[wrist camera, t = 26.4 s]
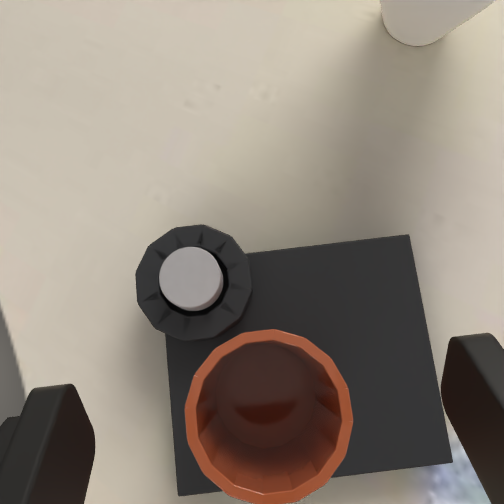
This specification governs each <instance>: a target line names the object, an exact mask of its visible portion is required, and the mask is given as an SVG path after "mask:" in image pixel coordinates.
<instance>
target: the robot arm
mask: <svg viewBox="0 0 504 504" xmlns="http://www.w3.org/2000/svg"><path fill="white" fill-rule="evenodd" d="M441 397H442V402H443V406H444V409H445V412H446V414H447V416H448V418H449V420H450V422H451V424H452V426H453V428H454V430H455V432H456V434H457V436H458V438H459V440H460V442H461V444H462V446H463V448H464V450H465V452H466V454H467V456H468V458H469V460H470V462H471V464H472V466H473V468H474V470H475V472H476V474H477V476H478V478H479V480H480V482H481V484H482V486H483V488H484V490H485V492H486V494H487V496H488V498H489V500H490V502H491V504H504V349H503V348H502V346H501V345H500V344H499V342H498V341H497V339H496V338H495V337H494V336H493V335H492V334H490V333H482V334H474V335H465V336H457V337H452V338H451V339H450V341H449V344H448V349H447V355H446V360H445V365H444V371H443V376H442V382H441ZM94 456H95V435H94V430H93V427H92V425H91V422H90V420H89V418H88V415H87V413H86V411H85V408H84V406H83V404H82V402H81V399H80V397H79V395H78V392H77V390H76V388H75V386H74V385H73V384H64V385H56V386H47V387H39V388H34V389H33V390H32V391H31V392H30V393H29V395H28V398H27V400H26V403H25V405H24V408H23V410H22V413H21V415H20V416H17V417H9V418H7V419H6V420H5V421H4V423H3V424H2V425H1V426H0V504H84V501H85V497H86V492H87V488H88V483H89V479H90V474H91V470H92V466H93V461H94Z"/></svg>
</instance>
